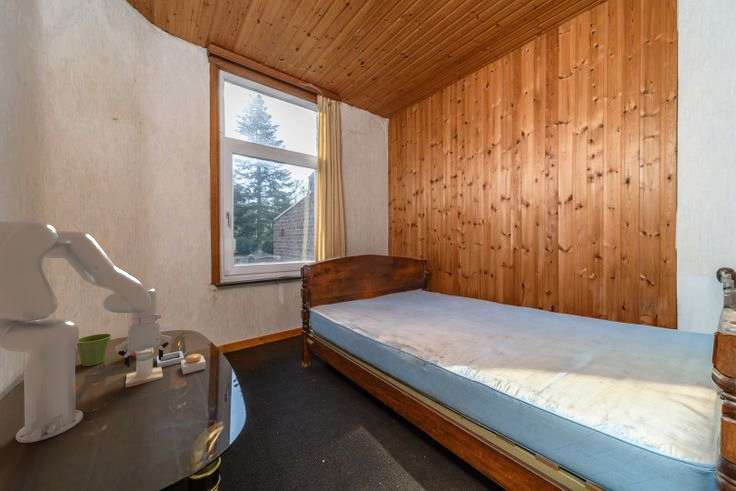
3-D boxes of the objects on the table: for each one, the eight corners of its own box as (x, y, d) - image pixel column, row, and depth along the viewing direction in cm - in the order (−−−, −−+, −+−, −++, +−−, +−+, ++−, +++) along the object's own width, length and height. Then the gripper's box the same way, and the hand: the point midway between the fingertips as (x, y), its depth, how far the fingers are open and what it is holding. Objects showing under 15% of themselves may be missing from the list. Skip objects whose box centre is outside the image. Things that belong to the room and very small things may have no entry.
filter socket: (184, 361, 120) (184, 357, 120) (157, 368, 114) (157, 363, 114) (181, 354, 128) (181, 350, 128) (156, 360, 121) (156, 356, 121)
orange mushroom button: (202, 366, 114) (201, 356, 114) (186, 370, 111) (186, 360, 111) (199, 362, 119) (199, 352, 119) (184, 365, 115) (184, 356, 115)
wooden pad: (162, 378, 106) (162, 376, 106) (125, 387, 99) (125, 385, 99) (161, 367, 114) (161, 366, 114) (126, 376, 107) (126, 374, 107)
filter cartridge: (152, 375, 106) (152, 353, 106) (136, 379, 103) (135, 356, 103) (152, 370, 110) (152, 349, 110) (136, 374, 107) (135, 352, 107)
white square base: (205, 368, 114) (205, 361, 114) (183, 374, 109) (183, 367, 109) (202, 361, 120) (202, 355, 120) (180, 367, 115) (180, 360, 115)
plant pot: (117, 360, 122) (117, 335, 121) (81, 371, 111) (81, 344, 111) (105, 355, 126) (104, 331, 126) (69, 365, 116) (68, 340, 115)
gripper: (170, 314, 115) (170, 353, 115) (115, 321, 104) (115, 365, 104) (172, 318, 109) (172, 359, 109) (113, 326, 98) (114, 373, 98)
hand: (144, 362), depth 107 cm, fingers open, 9 cm apart
